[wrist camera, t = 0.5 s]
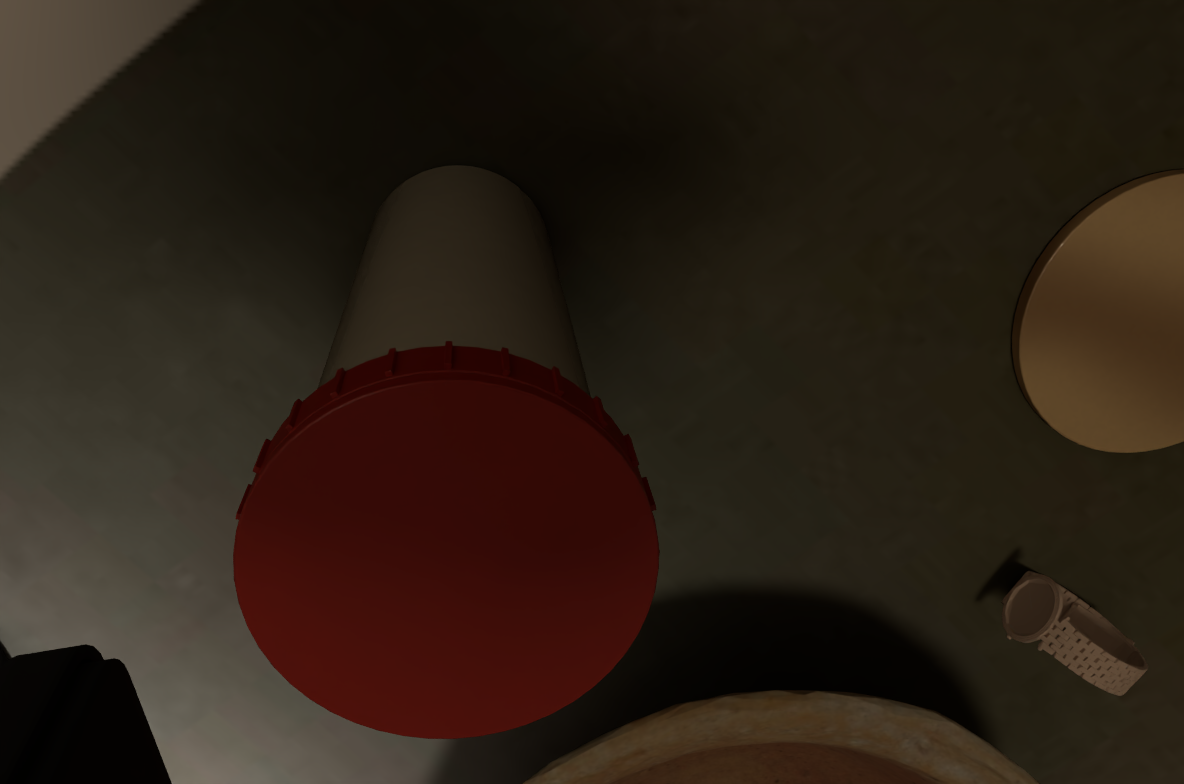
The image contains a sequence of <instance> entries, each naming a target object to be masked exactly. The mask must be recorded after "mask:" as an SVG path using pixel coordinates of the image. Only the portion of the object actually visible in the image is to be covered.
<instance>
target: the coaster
mask: <svg viewBox="0 0 1184 784" xmlns="http://www.w3.org/2000/svg"><path fill="white" fill-rule="evenodd" d="M1012 355H1013V362H1014V369H1015V372H1016V376H1017V379H1018V383H1019V385H1020V387H1021V390H1022V392H1023V394H1024V396H1025V398H1026V400H1027V401H1028V402H1029V404H1030V405H1031V407H1032V408H1033V410H1034V411H1035V412H1036V413H1037V414H1038V415H1039V416H1040V417H1041V418H1042V419H1043V420H1044V421H1045V422H1046V423H1047V424H1048V425H1049V426H1050V427H1052V428H1053V429H1054V430H1056V431H1057V432H1058V433H1060V434H1061V435H1062V436H1064V437H1065V438H1067V439H1069V440H1071V441H1073V442H1075V443H1077V444H1079V445H1082V446H1085V447H1088V448H1091V449H1095V450H1101V451H1106V452H1117V453H1134V452H1145V451H1151V450H1156V449H1161V448H1165V447H1168V446H1171V445H1174V444H1177V443H1180V442H1183V441H1184V169H1182V170H1171V171H1165V172H1160V173H1155V174H1151V175H1148V176H1145V177H1142V178H1139V179H1135V180H1133V181H1131V182H1128V183H1126V184H1124V185H1122V186H1119V187H1117V188H1115V189H1113V190H1112V191H1110V192H1108V193H1107V194H1105V195H1103V196H1101V197H1100V198H1098V199H1096V200H1095V201H1094V202H1092V203H1091V204H1090V205H1088V206H1087V207H1086V208H1084V209H1083V210H1082V211H1080V212H1079V213H1078V214H1077V215H1076V216H1075V217H1074V218H1073V219H1072V220H1070V221H1069V222H1068V223H1067V224H1066V225H1065V226H1064V227H1063V228H1062V229H1061V230H1060V231H1059V233H1058V234H1057V235H1056V236H1055V237H1054V238H1053V240H1052V241H1051V242H1050V243H1049V244H1048V246H1047V247H1046V249H1045V250H1044V252H1043V253H1042V254H1041V256H1040V257H1039V259H1038V260H1037V262H1036V264H1035V265H1034V267H1033V269H1032V271H1031V273H1030V275H1029V276H1028V278H1027V281H1026V283H1025V286H1024V288H1023V290H1022V293H1021V295H1020V298H1019V302H1018V305H1017V309H1016V313H1015V317H1014V324H1013V331H1012Z"/></svg>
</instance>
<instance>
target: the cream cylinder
mask: <svg viewBox="0 0 1184 784" xmlns="http://www.w3.org/2000/svg"><path fill="white" fill-rule="evenodd" d="M446 341H452V342H453V346H467V347H479V348H485V349H490V350H496V351H501V349H502V347H504V348H508V349H509V354H512V355H515V356H519V357H522V358H525V359H528V360H531V361H533V362H535V363H538V364H540V365H542V366H544V367H546V368H548V369H552V368H553V366H555V367H557V368H559V370H560V375H561V376H563V377H564V378H566V379H568V380H569V381H571V382H572V383H574V384H576V385H577V386H578V387H579V388H581V389H582V390H583V391H584V392H585V393H587V394H588V395H589V396H590V397H591V395H590V391H589V387H588V383H587V380H586V376H585V372H584V368H583V364H582V361H581V357H580V353H579V349H578V345H577V342H576V338H575V334H574V330H573V326H572V323H571V319H570V315H569V311H568V307H567V304H566V300H565V296H564V292H563V288H562V285H561V281H560V277H559V273H558V269H557V266H556V262H555V258H554V254H553V250H552V247H551V243H550V239H549V235H548V232H547V229H546V226H545V223H544V221H543V219H542V217H541V214H540V212H539V211H538V209H537V208H536V206H535V205H534V203H533V202H532V201H531V200H530V198H529V197H528V196H527V195H526V194H525V193H524V192H523V191H522V190H521V189H520V188H519V187H517V186H516V185H515V184H513V183H512V182H510V181H509V180H508V179H506V178H504V177H502V176H500V175H498V174H496V173H494V172H491V171H488V170H485V169H482V168H477V167H473V166H462V165H453V166H443V167H437V168H433V169H430V170H427V171H424V172H421V173H419V174H417V175H415V176H413V177H411V178H410V179H408V180H407V181H405V182H404V183H402V184H401V185H400V186H398V187H397V188H396V189H395V190H394V191H393V192H392V193H391V194H390V195H389V196H388V197H387V199H386V200H385V201H384V203H383V204H382V206H381V207H380V209H379V210H378V212H377V214H376V216H375V219H374V221H373V223H372V226H371V229H370V232H369V235H368V238H367V241H366V244H365V247H364V250H363V253H362V256H361V259H360V262H359V265H358V268H357V271H356V274H355V277H354V280H353V283H352V286H351V289H350V292H349V295H348V298H347V301H346V304H345V307H344V310H343V313H342V316H341V319H340V322H339V325H338V328H337V331H336V334H335V337H334V340H333V343H332V346H331V349H330V352H329V355H328V358H327V361H326V364H325V367H324V370H323V373H322V376H321V379H320V382H319V385H318V388H319V387H321V386H322V385H324V384H325V383H327V382H328V381H330V380H332V379H333V378H335V375H336V372H337V370H338V369H340V368H342V367H343V368H344V370H345V371H347V370H349V369H351V368H353V367H355V366H358V365H360V364H362V363H364V362H366V361H369V360H372V359H375V358H378V357H381V356H384V355H387V354H388V352H389V349H391V348H396V350H397V352H399V351H404V350H409V349H415V348H420V347H433V346H445V342H446ZM318 388H317V389H318Z"/></svg>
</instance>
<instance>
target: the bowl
mask: <svg viewBox="0 0 1184 784" xmlns="http://www.w3.org/2000/svg"><path fill="white" fill-rule="evenodd" d="M522 784H1040V783H1039V782H1038V781H1036V780H1035V779H1034V778H1033V777H1032V776H1031V775H1029V774H1028V773H1027V772H1026V771H1025V770H1024V769H1022V768H1021V767H1020V766H1018V765H1017V764H1016V763H1014V762H1013V761H1012V760H1011V759H1009V758H1008V757H1007V756H1005V755H1004V754H1003V753H1001V752H1000V751H999V750H997V749H996V748H995V747H993V746H992V745H991V744H990V743H988V742H986V741H985V740H983V739H982V738H980V737H979V736H977V735H975V734H974V733H972V732H971V731H969V730H967V729H966V728H964V727H963V726H961V725H960V724H958V723H956V722H955V721H953V720H951V719H950V718H948V717H946V716H944V715H942V714H940V713H938V712H936V711H933V710H930V709H926V708H922V707H918V706H914V705H910V704H907V703H903V702H899V701H894V700H890V699H886V698H882V697H877V696H871V695H865V694H859V693H851V692H837V691H811V690H771V691H756V692H742V693H730V694H725V695H721V696H716V697H712V698H707V699H702V700H696V701H690V702H685V703H679V704H675V705H672V706H670V707H667V708H665V709H662V710H660V711H657V712H655V713H653V714H650V715H648V716H645V717H642V718H639V719H636V720H633V721H631V722H629V723H627V724H625V725H623V726H620V727H618V728H616V729H614V730H612V731H609V732H607V733H605V734H603V735H601V736H599V737H597V738H595V739H593V740H591V741H590V742H588V743H586V744H584V745H582V746H580V747H578V748H576V749H575V750H573V751H571V752H569V753H567V754H565V755H563V756H561V757H559V758H558V759H556V760H554V761H552V762H550V763H549V764H548V765H546V766H545V767H544V768H542V769H541V770H540V771H538V772H537V773H536V774H534V775H533V776H532V777H530V778H529V779H528V780H526V781H525V782H523V783H522Z"/></svg>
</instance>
